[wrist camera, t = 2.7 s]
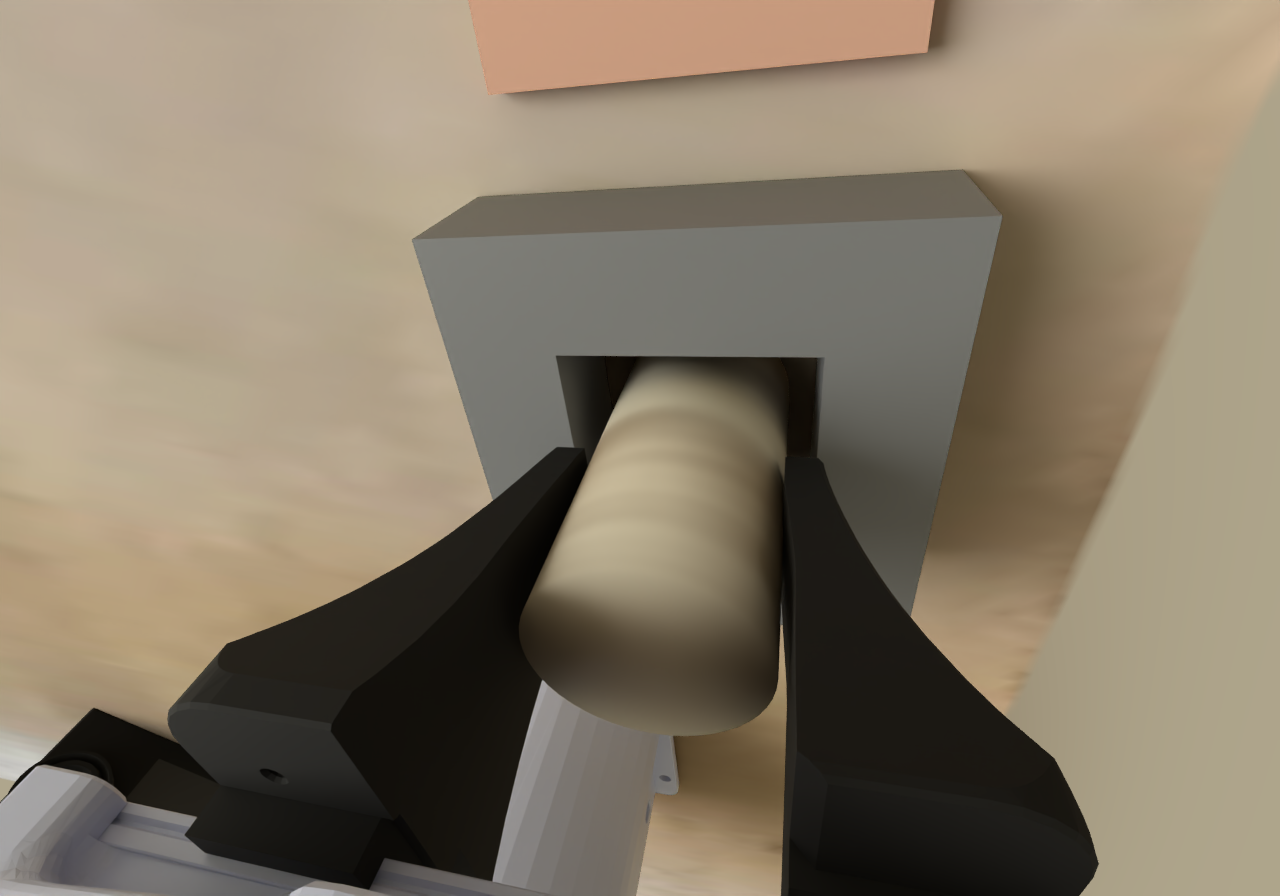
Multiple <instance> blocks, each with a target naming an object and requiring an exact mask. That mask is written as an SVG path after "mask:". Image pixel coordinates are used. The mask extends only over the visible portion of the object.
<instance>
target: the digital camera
mask: <svg viewBox="0 0 1280 896" xmlns="http://www.w3.org/2000/svg"><path fill="white" fill-rule="evenodd" d="M41 765H48V766H53V767H58V768H63V769H67V770H72V771H77V772H82V773H87V774H90V775H93V776H96V777H98V778H100V779H102V780H104V781H106V782H108V783H109V784H111V785H112V786H114V787H115V788H116V789H117V790H118V791H120V792H121V793H122V794H123V795H124V796H125V797H126V801H127V802H131V803H135V804H140V805H144V806H149V807H153V808H158V809H163V810H167V811H172V812H176V813H181V814H185V815H190V816H195V817H198V816H199V814H200V813H201V811H202V810H203V809H204V807H205V806H206V805H207V803H208V802H209V800H210V799H211V798H212V796H213V795H214V794H215V792H216V791H217V790H218V788H219V787H220V784H219V783H218V782H217V781H216V780H215V779H214V778H213V777H212V776H211V775H210V774H209V773H208V772H207V771H206V770H205V769H204V768H203V767H202V766H201V765H200V764H199V763H198V762H197V761H196V760H195V759H194V758H193V757H192V756H191V755H190V754H189V753H188V752H187V751H186V750H185V749H184V748H183V747H182V746H181V745H180V744H177V743H175V742H173V741H170V740H168V739H166V738H163V737H161V736H158V735H156V734H154V733H151V732H149V731H147V730H144V729H142V728H140V727H137V726H135V725H133V724H130V723H128V722H125V721H123V720H121V719H118V718H116V717H114V716H111V715H109V714H106V713H104V712H102V711H99V710H97V709H94V708H93V709H92V710H91V711H89V712H88V713H87V714H86V715H85V716H84V717H83V718H82V719H81V720H80V721H79V722H78V723H77V724H76V725H75V726H74V728H73V729H72V730H71V731H70V732H69V733H68V734H67V735H66V736H65V737H64V738H63V739H62V740H61V741H60V742H59V743H58V744H57V745H56V746H55V747H54V748H53V749H52V750H51V751H50V752H49V753H48V754H47V755H46V756H45V757H44V758H43V759H42V760H41V761H40V762H38V763H36V764H35V765H33V766H32V767H31V768H29V769H28V770H27V771H26V772H24V773H23V774H22V775H21V776H20V777H19V778H18V780H17V781H16V782H15V783H14V785H13V786H12V788H11V789H10V791H9V793H8V794H7V795H6V796H5V797H4V798H3V799H2V800H1V802H2V801H3V800H4V799H5V798H6V797H7V796H8V795H9V794H10V793H11V792H12V791H13V790H14V789H15V788H16V787H17V786H18V785H19V784H20V783H21V782H22V781H23V780H24V779H25V778H26V777H27V776H28V774H29V773H30V772H31V771H32V770H33V769H34V768H35V767H37V766H41ZM1 802H0V803H1Z"/></svg>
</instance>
